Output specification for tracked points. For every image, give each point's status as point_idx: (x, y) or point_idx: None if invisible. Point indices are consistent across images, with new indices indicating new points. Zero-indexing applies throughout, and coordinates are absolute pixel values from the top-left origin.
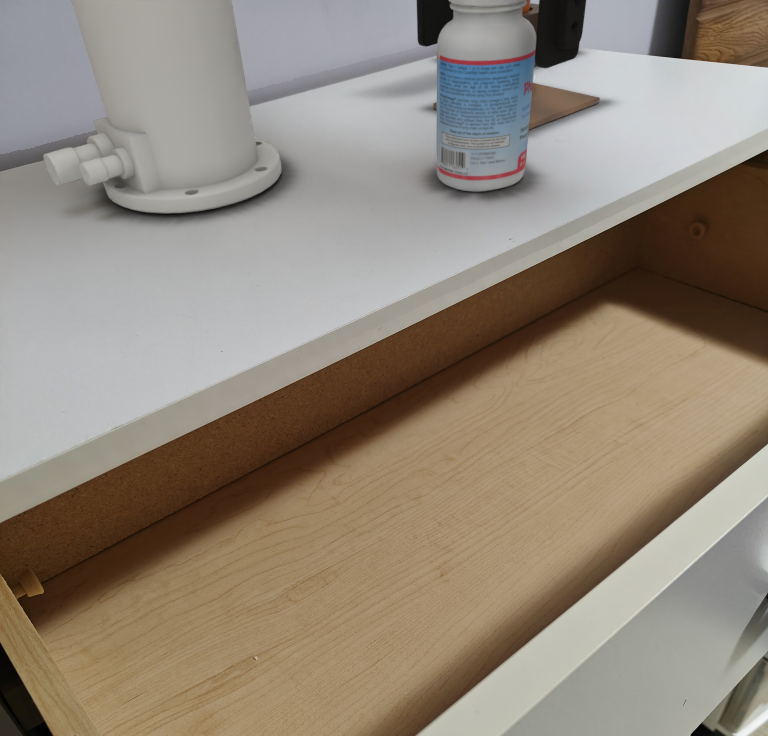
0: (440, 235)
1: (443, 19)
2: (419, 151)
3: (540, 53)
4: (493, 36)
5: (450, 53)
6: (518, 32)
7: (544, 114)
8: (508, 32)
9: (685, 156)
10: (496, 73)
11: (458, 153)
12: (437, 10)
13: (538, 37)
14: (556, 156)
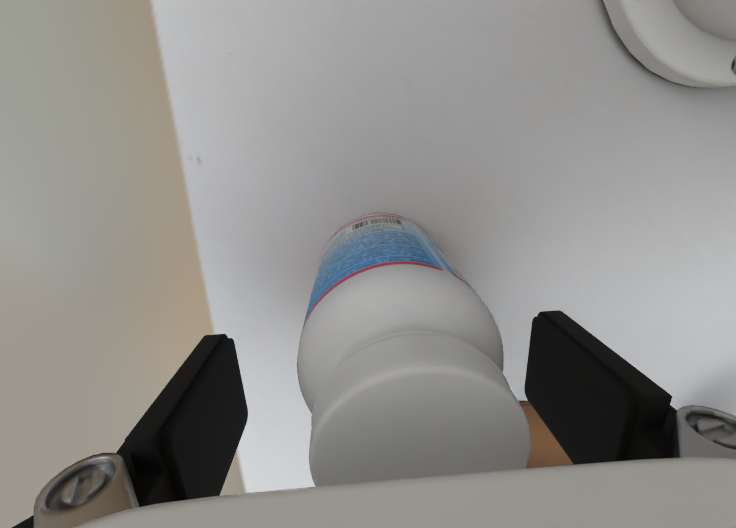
0: (267, 96)
1: (548, 380)
2: (515, 279)
3: (205, 342)
4: (323, 333)
5: (401, 267)
6: (306, 383)
7: None
8: (312, 365)
9: (258, 465)
10: (313, 302)
11: (363, 225)
12: (562, 377)
13: (203, 357)
14: None
